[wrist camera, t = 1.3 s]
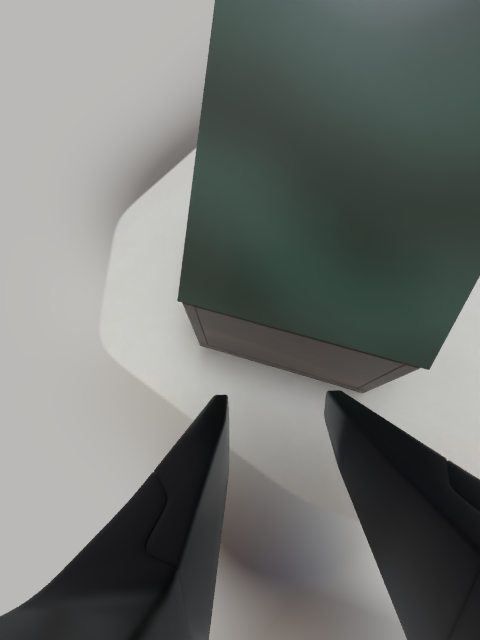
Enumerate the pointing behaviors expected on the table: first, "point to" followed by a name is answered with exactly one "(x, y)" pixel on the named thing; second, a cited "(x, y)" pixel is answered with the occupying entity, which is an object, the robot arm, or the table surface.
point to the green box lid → (339, 171)
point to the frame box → (293, 351)
